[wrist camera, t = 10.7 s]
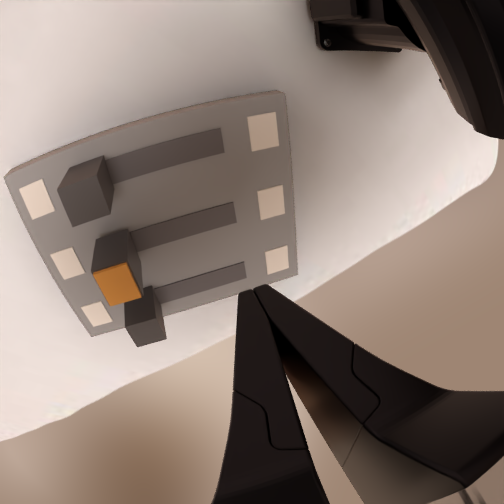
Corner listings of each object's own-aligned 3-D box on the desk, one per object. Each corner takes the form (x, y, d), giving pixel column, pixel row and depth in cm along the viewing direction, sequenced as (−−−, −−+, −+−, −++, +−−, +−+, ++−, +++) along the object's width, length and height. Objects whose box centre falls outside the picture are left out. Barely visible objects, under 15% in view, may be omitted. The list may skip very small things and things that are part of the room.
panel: (276, 90, 17) (311, 101, 13) (291, 265, 25) (315, 301, 21) (10, 169, 14) (-18, 200, 11) (92, 325, 22) (90, 369, 18)
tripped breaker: (127, 228, 17) (127, 262, 14) (141, 262, 18) (143, 298, 16) (95, 239, 16) (90, 274, 14) (110, 271, 18) (109, 308, 15)
